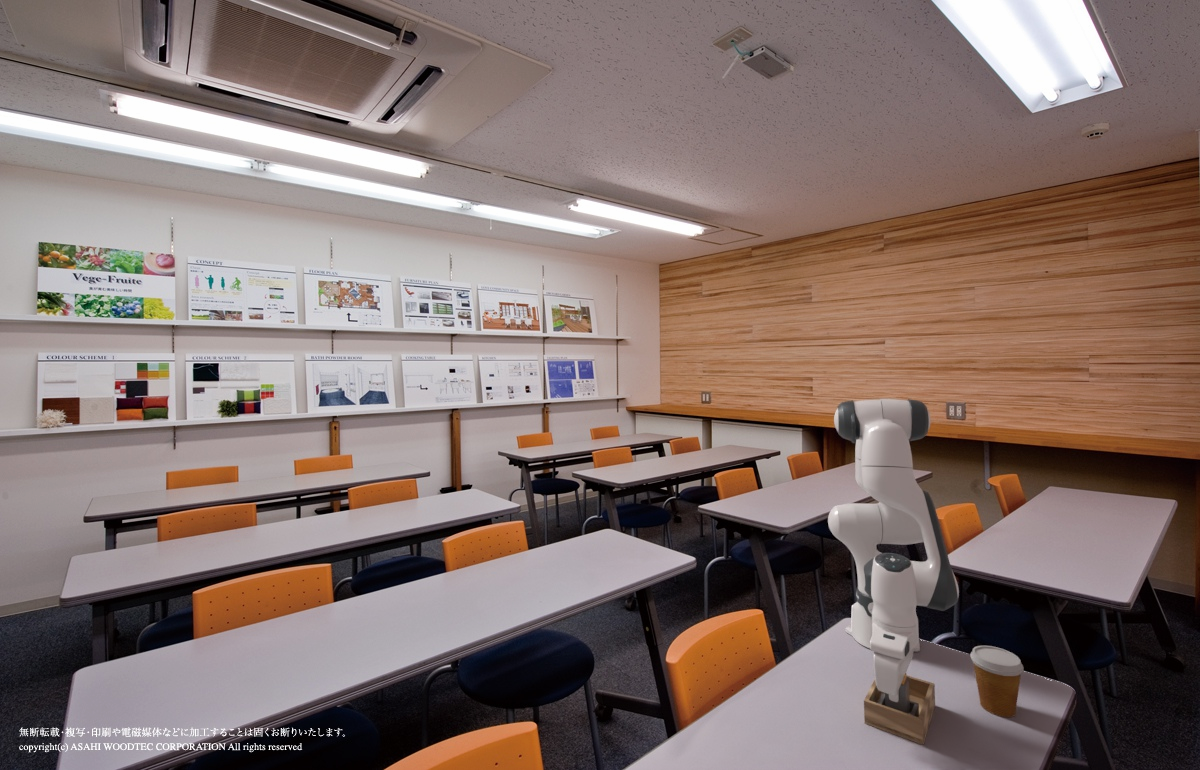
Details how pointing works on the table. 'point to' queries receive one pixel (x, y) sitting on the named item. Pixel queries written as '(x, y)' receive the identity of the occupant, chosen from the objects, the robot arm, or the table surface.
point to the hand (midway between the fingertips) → (897, 693)
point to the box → (898, 721)
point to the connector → (901, 697)
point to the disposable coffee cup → (997, 679)
